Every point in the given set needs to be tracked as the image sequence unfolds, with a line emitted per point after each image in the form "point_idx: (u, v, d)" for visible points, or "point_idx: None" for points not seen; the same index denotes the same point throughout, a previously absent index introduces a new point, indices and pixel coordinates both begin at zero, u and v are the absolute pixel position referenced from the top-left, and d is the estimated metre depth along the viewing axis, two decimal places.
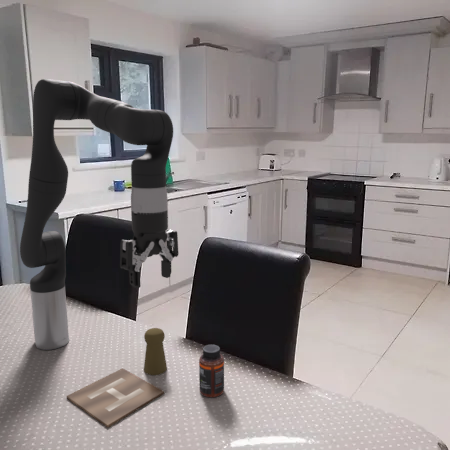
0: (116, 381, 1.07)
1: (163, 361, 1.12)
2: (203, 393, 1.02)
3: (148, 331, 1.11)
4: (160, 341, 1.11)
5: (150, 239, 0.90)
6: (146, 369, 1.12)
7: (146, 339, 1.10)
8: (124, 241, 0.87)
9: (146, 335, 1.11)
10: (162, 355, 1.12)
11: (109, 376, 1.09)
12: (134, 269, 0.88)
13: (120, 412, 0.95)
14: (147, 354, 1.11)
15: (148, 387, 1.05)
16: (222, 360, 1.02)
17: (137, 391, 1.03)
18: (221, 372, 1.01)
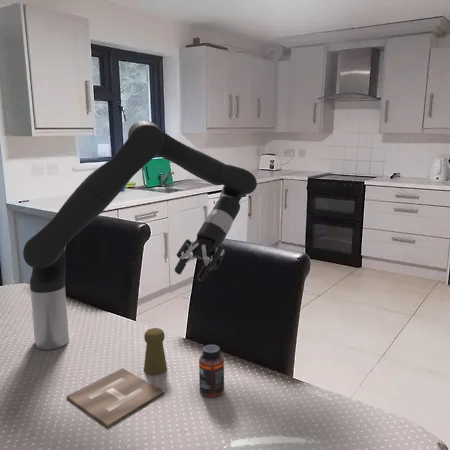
0: (116, 381, 1.07)
1: (163, 361, 1.12)
2: (203, 393, 1.02)
3: (148, 331, 1.11)
4: (160, 341, 1.11)
5: None
6: (146, 369, 1.12)
7: (146, 339, 1.10)
8: (223, 249, 1.18)
9: (146, 335, 1.11)
10: (162, 355, 1.12)
11: (109, 376, 1.09)
12: None
13: (120, 412, 0.95)
14: (147, 354, 1.11)
15: (148, 387, 1.05)
16: (222, 360, 1.02)
17: (137, 391, 1.03)
18: (221, 372, 1.01)
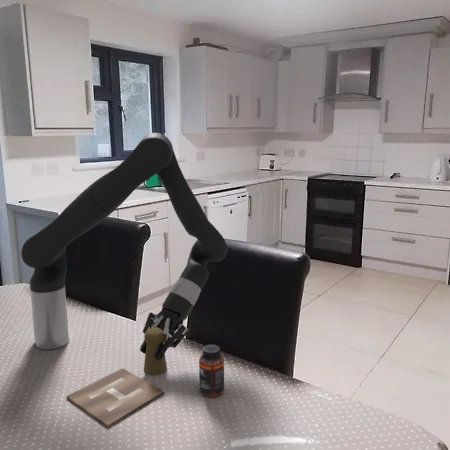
0: (116, 381, 1.07)
1: (163, 361, 1.12)
2: (203, 393, 1.02)
3: (148, 331, 1.11)
4: (160, 341, 1.11)
5: None
6: (146, 369, 1.12)
7: (146, 339, 1.10)
8: (186, 328, 1.11)
9: (146, 335, 1.11)
10: None
11: (109, 376, 1.09)
12: None
13: (120, 412, 0.95)
14: (147, 354, 1.11)
15: (148, 387, 1.05)
16: (222, 360, 1.02)
17: (137, 391, 1.03)
18: (221, 372, 1.01)
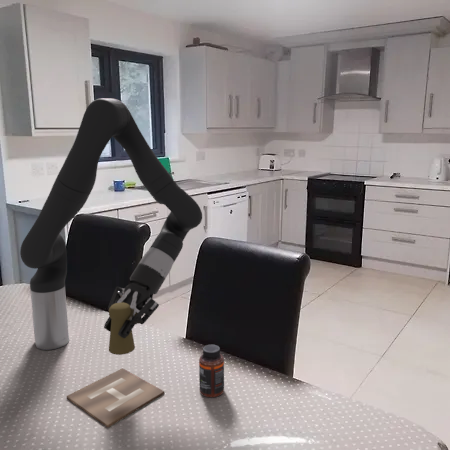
0: (116, 381, 1.07)
1: (130, 339, 1.00)
2: (203, 393, 1.02)
3: (113, 305, 0.99)
4: (126, 316, 0.99)
5: None
6: (111, 348, 1.00)
7: (110, 314, 0.98)
8: (155, 302, 0.99)
9: (110, 310, 0.99)
10: None
11: (109, 376, 1.09)
12: None
13: (120, 412, 0.95)
14: (112, 331, 0.99)
15: (148, 387, 1.05)
16: (222, 360, 1.02)
17: (137, 391, 1.03)
18: (221, 372, 1.01)
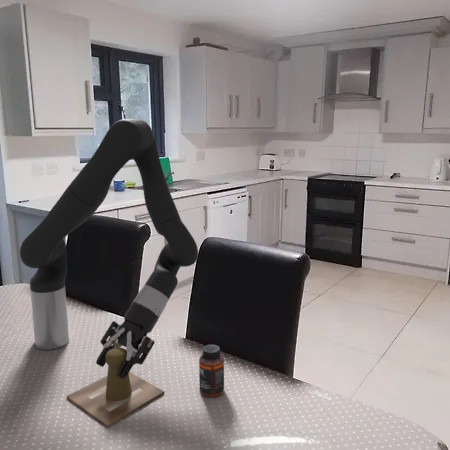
0: None
1: (127, 385, 1.01)
2: (203, 393, 1.02)
3: (110, 351, 1.00)
4: None
5: None
6: (108, 394, 1.00)
7: (107, 361, 0.99)
8: (151, 339, 0.99)
9: (107, 356, 0.99)
10: (126, 379, 1.00)
11: None
12: None
13: (120, 412, 0.95)
14: (109, 377, 1.00)
15: (148, 387, 1.05)
16: (222, 360, 1.02)
17: (137, 391, 1.03)
18: (221, 372, 1.01)
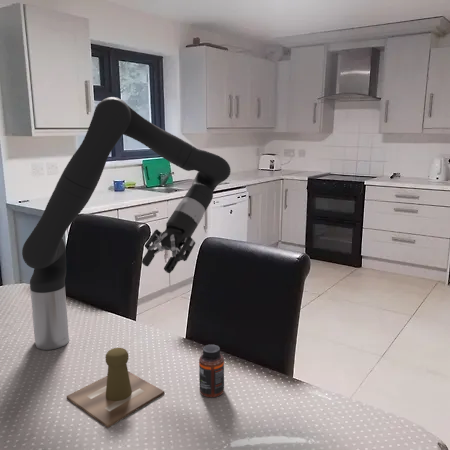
0: None
1: (127, 385, 1.01)
2: (203, 393, 1.02)
3: (110, 352, 1.00)
4: (123, 363, 0.99)
5: None
6: (108, 394, 1.00)
7: (107, 361, 0.99)
8: (192, 239, 1.11)
9: (107, 356, 0.99)
10: (126, 379, 1.00)
11: None
12: (179, 260, 1.11)
13: (120, 412, 0.95)
14: (109, 377, 1.00)
15: (148, 387, 1.05)
16: (222, 360, 1.02)
17: (137, 391, 1.03)
18: (221, 372, 1.01)
